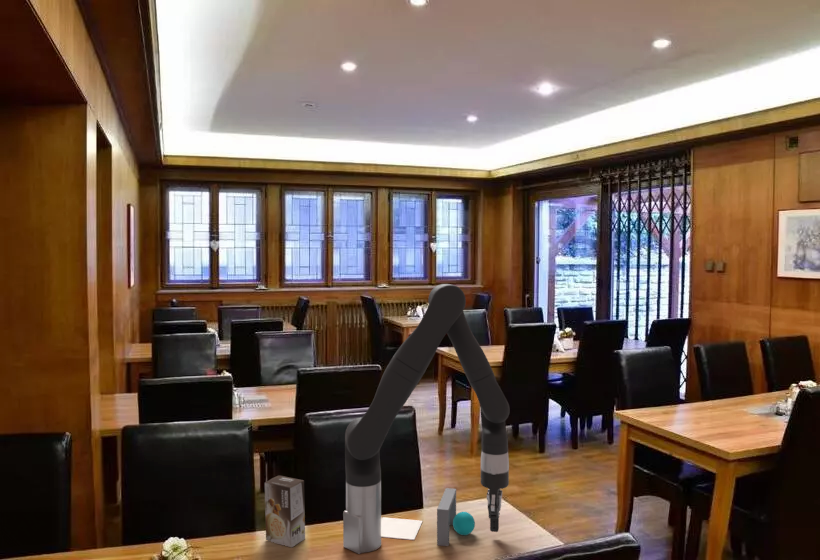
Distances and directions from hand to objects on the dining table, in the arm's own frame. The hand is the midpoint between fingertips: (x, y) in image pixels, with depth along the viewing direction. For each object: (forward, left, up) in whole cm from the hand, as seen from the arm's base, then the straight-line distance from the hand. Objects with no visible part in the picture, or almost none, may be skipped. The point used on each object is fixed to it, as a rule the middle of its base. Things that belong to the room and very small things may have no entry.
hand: (494, 530), depth 168 cm
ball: (-4, +7, +1) cm, 8 cm away
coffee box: (-38, +41, -2) cm, 57 cm away
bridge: (-6, +11, -2) cm, 13 cm away
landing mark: (-13, +23, -2) cm, 27 cm away
